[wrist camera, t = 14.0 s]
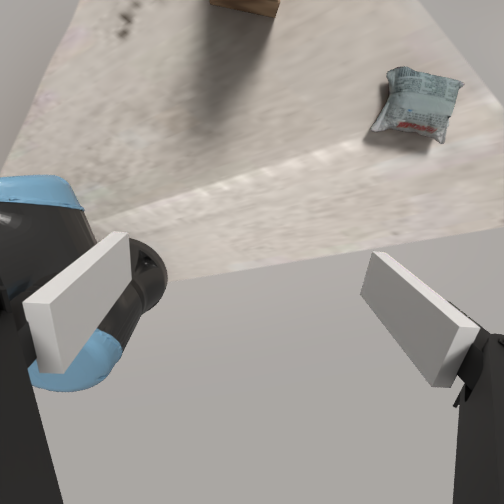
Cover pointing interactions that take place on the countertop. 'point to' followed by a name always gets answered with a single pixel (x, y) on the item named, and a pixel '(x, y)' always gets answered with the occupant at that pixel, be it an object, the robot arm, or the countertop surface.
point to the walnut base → (251, 6)
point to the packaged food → (418, 103)
